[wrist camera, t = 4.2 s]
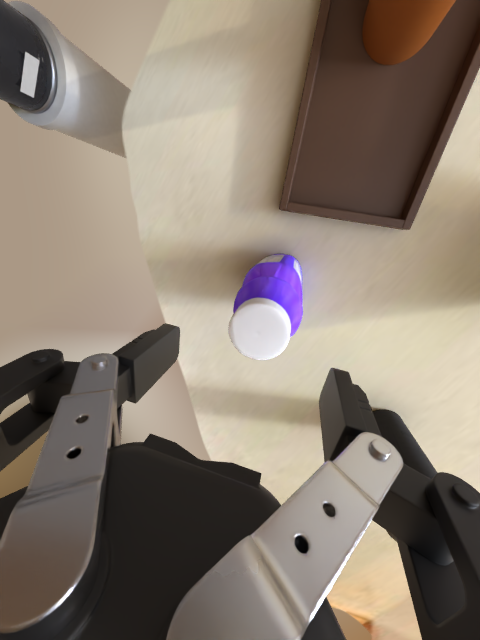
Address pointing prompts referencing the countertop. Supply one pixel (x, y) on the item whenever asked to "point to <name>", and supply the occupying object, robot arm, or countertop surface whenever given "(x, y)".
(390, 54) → the amber bottle
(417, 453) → the drinking cup
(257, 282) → the bottle
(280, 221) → the countertop surface
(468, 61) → the tray
